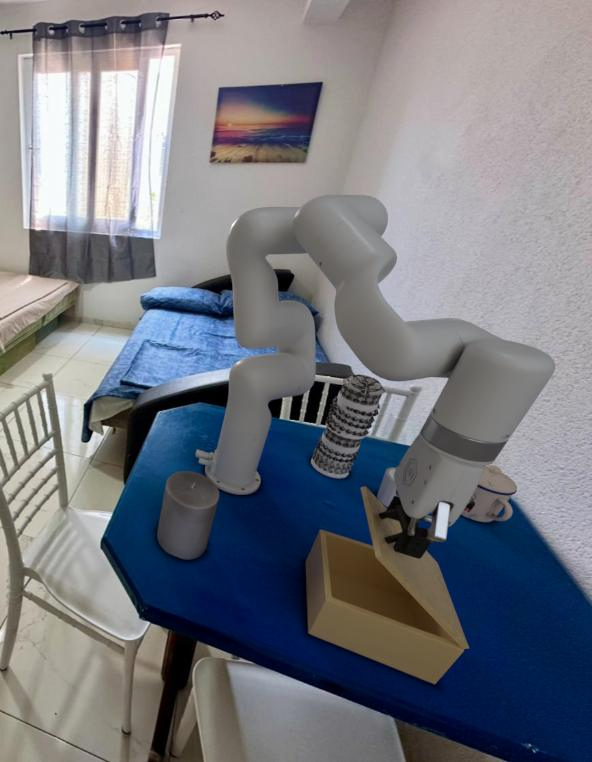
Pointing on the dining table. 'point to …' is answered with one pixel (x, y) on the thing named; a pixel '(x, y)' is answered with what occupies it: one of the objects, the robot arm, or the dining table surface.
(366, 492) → the lid
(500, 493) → the teacup with lid
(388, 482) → the white short cylinder
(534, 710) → the dining table surface
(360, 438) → the white patterned cylinder
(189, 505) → the pillar candle
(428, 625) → the hinged wooden box
